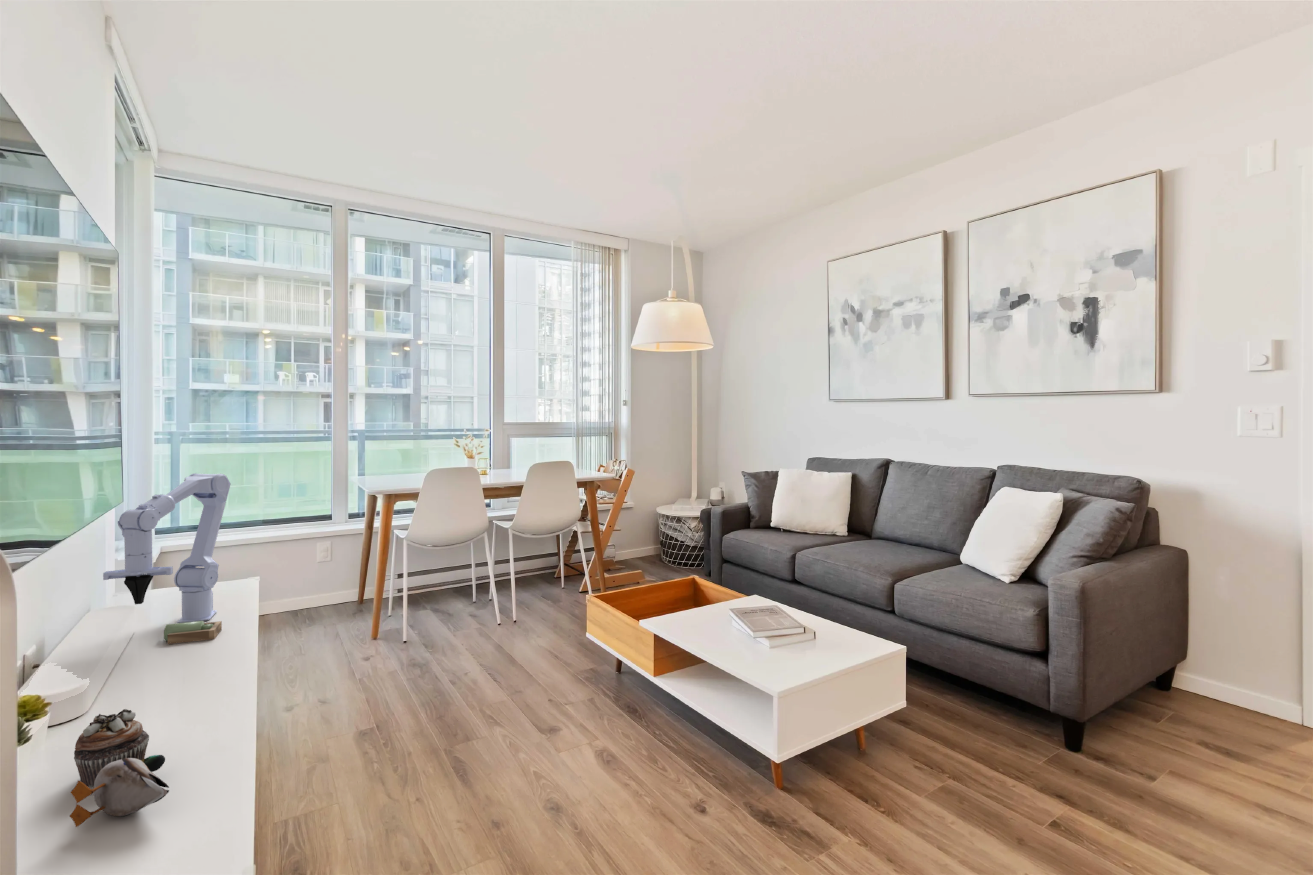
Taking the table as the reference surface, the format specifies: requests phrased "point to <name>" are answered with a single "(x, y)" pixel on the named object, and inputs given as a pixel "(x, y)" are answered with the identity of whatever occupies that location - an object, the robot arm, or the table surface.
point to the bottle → (185, 627)
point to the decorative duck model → (122, 788)
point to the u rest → (196, 634)
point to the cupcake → (109, 743)
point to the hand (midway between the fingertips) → (139, 603)
